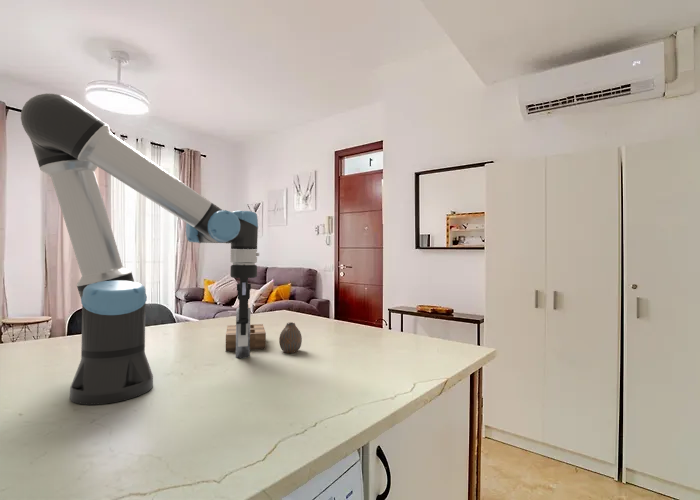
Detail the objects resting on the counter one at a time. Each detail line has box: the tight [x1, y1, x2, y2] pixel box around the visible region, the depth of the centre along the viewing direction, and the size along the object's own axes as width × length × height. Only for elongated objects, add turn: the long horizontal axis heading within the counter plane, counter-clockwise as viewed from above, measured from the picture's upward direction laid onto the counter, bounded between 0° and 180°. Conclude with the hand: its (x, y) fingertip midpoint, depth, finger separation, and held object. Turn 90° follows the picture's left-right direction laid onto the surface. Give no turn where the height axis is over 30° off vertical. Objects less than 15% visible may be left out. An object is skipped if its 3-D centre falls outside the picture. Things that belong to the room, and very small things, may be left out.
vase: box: [278, 321, 303, 354], centre depth 116 cm, size 7×7×9 cm
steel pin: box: [235, 307, 251, 359], centre depth 110 cm, size 4×4×14 cm
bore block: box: [225, 323, 267, 352], centre depth 125 cm, size 16×12×5 cm
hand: (242, 343), depth 110 cm, fingers closed on steel pin, 4 cm apart
